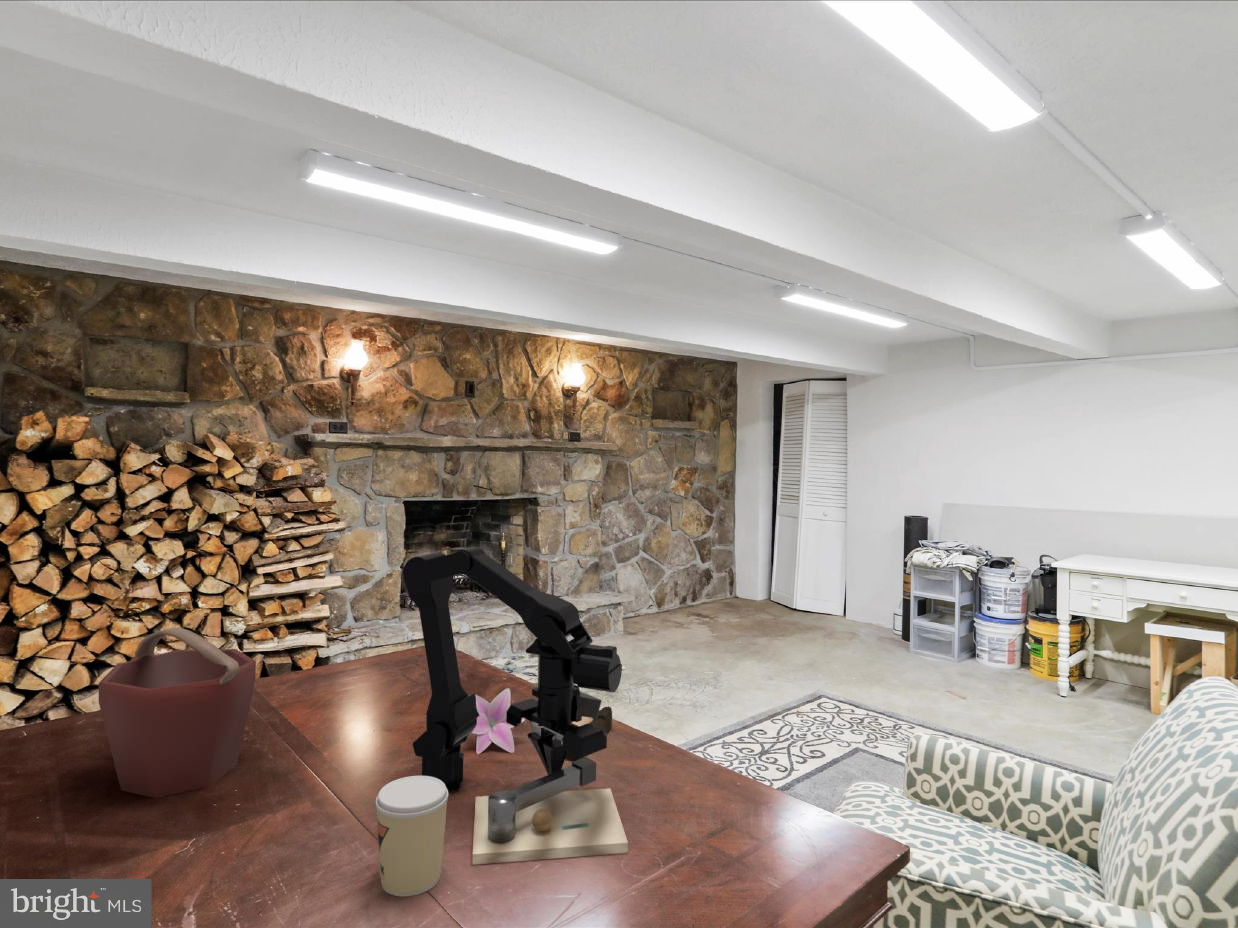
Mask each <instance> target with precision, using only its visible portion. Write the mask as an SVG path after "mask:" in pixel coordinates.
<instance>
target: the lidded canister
mask: <svg viewBox="0 0 1238 928" xmlns="http://www.w3.org/2000/svg"><path fill="white" fill-rule="evenodd" d="M448 800H449V792H448V790H447V788H446V786H445V784H444V783H443V782H442V781H441V780H439V779H437V778H434V777H430V776H422V775H412V776H411V775H410V776H405V777H401V778H398V779H395V780H392V781H390V782H388V783H387V784H385V785H384V786H383V787H381V789H380V790H379V792H378V794H377V796H376V798H375V808H376V818H377V819H376V821H377V836H378V838H377V839H378V855H379V871H380V872H379V873H380V883H381V887H382V889H383V890H384V891H385V892H386V893H387V894H389V895H392V896H396V897H413V896H417V895H421V894H423V893H426V892H428V891H430V890H431V889H432V888H434V887H435V886H436V885H437V884H438V883H439V881H440V878H441V873H442V865H443V864H442V863H443V854H444V853H443V852H444V843H445V830H446V818H447V806H448V805H447V804H448Z"/></svg>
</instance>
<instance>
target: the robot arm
mask: <svg viewBox="0 0 1238 928" xmlns="http://www.w3.org/2000/svg"><path fill="white" fill-rule="evenodd" d="M460 574H463V575H465V576H466V577H467V578H468V579H470V580H471V581H473V582H474V583H475V584H477V585H478V586H480V587H481V588H482V589H483V590H485V591H487V593H489V594H490V595H492V596H493V597H495V598H496V599H498V600H499V601H501V602H502V603H503V604H505V605H506V606H507V607H509V608H510V609H511V610H513V611H514V612H515V613H517V614H518V616H520V618H521V621H522V622H523V624H524V626H525V627H526V629H527V630H528V631H529V632H530V633H531V634H532V635H533V636H534V637H535V639H534V641H533V643H531V645H529V646H528V647H527V648H525V653H526V654H530V655H537V656H538V657H537V661H538V662H537V687H534V688H532V689H531V695H532V696H533V697H536V698H537V699H534V698H529V699H525V700H523V701H519V702H516V703H512V704H510V707H509V709H508V710H507V713H506V723H508V724H510V725H512V726H514V727H515V728H518V727H519V726H520V725H521V724H522V723H523V722H522V718H525V720H528V721H529V725H530V727H531V728H530V729H531V730H530V732H529V733H527V739H529V740H530V741H531V743H532V745H533V747H534V749H535V751H536V753H537V755H538V756H539V759H540V761H541V763H542V765H543V767H544V769H545V771H546V774H547V775H549V774H552V773H554V772H557V771H559V770H561V769H563V767H564V762H565V761H566V759H565V758H566V756H567V753H568V754H570V755H572V756H574V757H576V758H580V759H581V758H584V757H588V756H590V755H592V754H595V753H597V752H600V751H602V750H604V749H607V746H608V741H607V740H608V733H606V732H605V731H604V730H602V729H600V728H598V727H595V726H593V725H591V724H589V723H590V722H589V723H585V724H582V725H580V726H579V725H577V724H575V723H578V722H582V720H583V718H584V717H586V718H591V719H592V720H593V719H595V720H596V719H597V717H598V713H599V710H601V709H600V708H601V705H602V699H600V698H597V697H595V696H593V695H590V694H588V693H585V692H582V691H581V690H580V688H582V689H586V690H587V689H588V690H594V691H600V692H606V693H615V692H617V690H618V688H619V685H620V683H621V680H622V674H623V673H622V672H623V664H622V663H621V659H620V656H619V654H618V648H617V646H614V645H605V646H604V645H596V644H592V643H593V638H592V637H591V635H590V634H589V632H588V631H587V629H586V627H585V626H584V624H583V622H582V621H581V617H580V614H579V611H580V610H579V609H578V608H577V606H576V605H574V603H572V602H570V601H568V600H566V599H564V598H561V597H559V596H557V595H555V594H550V593H548V592H547V593H546V592H543V591H540V590H538V589H536V588H534V587H533V586H532V585H530V584H528V583H527V582H526V581H524V580H523V579H522V578H521V577H519V576H518V575H516V574H515V573H514V572H511V571H510V570H509V569H507V568H506V567H504V566H503V565H502V564H500V563H498V562H497V561H496V560H495V559H494V558H491V557H490V556H489V555H487V554H486V552H485V551H483V549H482V548H480V547H477V546H472V547H467V548H463V549H460V550H457V551H456V552H453V553H450V554H446V553H444V552H441V551H434V552H430V553H425V554H421V555H417V556H413V557H411V558H409V559H408V560H407V561H406V563H405V564H404V565H403V567H402V579H403V582H404V586H405V588H406V593H407V596H408V597H409V598H410V599H411V601H412V602H413V604H414V605H415V606H416V607H417V609H418V612H419V619H420V624H421V631H422V637H423V639H422V640H423V643H424V651H425V657H426V663H427V671H428V676H429V678H428V679H429V684H430V689H431V695H430V699H429V702H428V705H427V709H426V714H425V715H426V716H425V717H426V718H425V720H426V722H425V723H426V727H425V728H426V730H425V731H424V732H422V734H421V735H420V736H418V738H417V739H416V740H415V741H413V743H412V749H413V752H414V755H415V756H416V757H420V758H421V776H430V777H434V778H437V779H439V780H441V781H442V782H443V783H444V784H445V786H446V788H447V790H448V793H450V792H451V793H453V792H454V793H455V792H459V791H460V790H461V784H462V783H463V782H464V777H465V775H464V774H465V753H464V752H461V751H462V749H461V748H462V744H463V743H465V742H467V740H468V738H469V735H470V734H472V733H471V732H472V731H473V730H474V728H475V727H476V724H477V717H479V716H480V715H479V713H478V711H477V707H476V696H475V695H476V694H475V693H471V694H470V693H469V694H468V693H467V692H466V690H465V689H464V688H463V687H462V683H461V677H460V671H459V664H458V657H457V652H456V645H455V639H454V631H453V627H452V620H451V612H450V608H449V607H450V605H449V603H450V602H449V601H450V597H451V594H452V593H453V592H452V591H453V587H454V576H456V575H460ZM570 636H571V637H572V639H570V640H569V641H568V638H569V637H570ZM521 722H522V723H521ZM514 727H513V728H514Z"/></svg>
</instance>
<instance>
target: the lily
mask: <svg viewBox="0 0 1238 928" xmlns="http://www.w3.org/2000/svg"><path fill="white" fill-rule="evenodd" d="M510 689H511V688H505V689H503V690H502V691H501V692H500V693H499V694H498V695H496V696H495V697H494V698H493V699H492V701H491V702H489V701H487V700H486V699H484V698H483V697H481V696H480V695H477V694H475V696H476V707H477V711H478V713H479V715H480V716H479V717H477V724H476V727H475V728H474V730H473V731H472V732H471V733H470V734H475V735H477V737H476V747H475V749H476V750H475V751H476V754H477V755H479V754H481V753H482V752H484V751H485V750H486V749H487V748H488V747H489V746H490V745H491V743H494V744H495V745H496V746H498V747H500V748H501V749H503V750H504V751H506V752H509V753H511V754H512V753H514V752H515V741H514V737H513V732H512V730H511V729H512V728H514V726H512V725H510V724H508V723H506V713H507V710H508V709H509V707H510V706H511V690H510ZM524 721H526V719H525V718H522V722H521V724H522V723H523V722H524Z"/></svg>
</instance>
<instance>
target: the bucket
mask: <svg viewBox="0 0 1238 928" xmlns="http://www.w3.org/2000/svg"><path fill="white" fill-rule="evenodd" d="M165 636H169V637H173V638H174V639H177V640H178V641H181V642H183V643H184V644H186V645H187V646H188V647H189V648H190V649H176V650H175V649H174V650H172V651H167V652H163V653H157V654H155V653H154V650H155V649H156V646H157V644H158V643H159V642H160V640H161V639H162V638H164V637H165ZM134 658H135V659H132V660H129V661H124V662H120V663H117V664H116V665H115V666H114V667H112V669H111V670H110V671H109V672H108V673H107V674H106V675H105V676H104V677H103V678H102V679H101V680H100V681H99V682H98V705H99V709H100V714H101V717H102V720H103V724H104V728H105V731H106V736H107V737H106V738H107V740H108V744H109V748H110V753H111V756H112V760H113V764H114V768H115V771H116V772H115V773H116V775H117V776H116V777H117V780H118V784H119V787H120V790H121V791H122V792H127V793H132V794H137V795H141V796H144V797H150V798H154V799H156V798H162V797H166V796H171V795H176V794H180V793H184V792H189V791H194V790H198V789H203V788H208V787H210V786H211V785H213V784H214V783H216V782H217V781H218V780H219V779H221V778H222V777H223V776H225V775H226V774H227V773H228V772H230V771H231V770H233V769H234V768H236V767H237V763H238V759H239V756H240V755H239V754H240V751H241V746H242V741H243V737H244V732H245V727H246V723H247V719H248V714H249V711H250V705H251V702H252V695H253V692H254V687H255V683H256V679H257V661H256V660H255V659H253V658H251V657H250V656H249V655H247V654H245V653H243V652H242V651H240V650H238V649H236V648H218V646H217V645H215V644H213V643H212V642H210V641H209V640H206V639H205V638H203V637H202V636H200V635H199V634H197V633H196V632H195V633H194V632H193V631H191V630H189V629H185V628H183V627H171V628H167V629H162V630H158V631H156V632H153V633H150V634H148V635H147V636H145V637H143V639H141V640H140V642H139V644H138V645H137V648H136V649H135V652H134Z"/></svg>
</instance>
